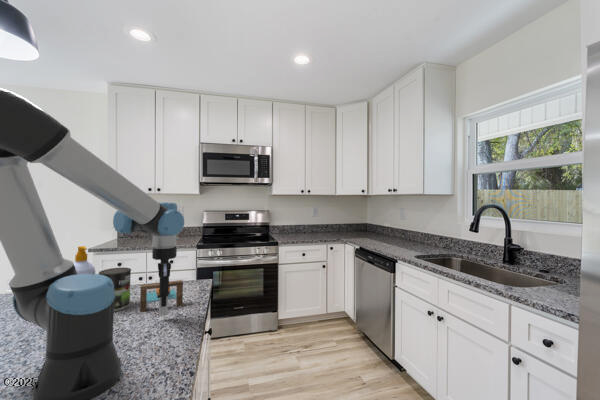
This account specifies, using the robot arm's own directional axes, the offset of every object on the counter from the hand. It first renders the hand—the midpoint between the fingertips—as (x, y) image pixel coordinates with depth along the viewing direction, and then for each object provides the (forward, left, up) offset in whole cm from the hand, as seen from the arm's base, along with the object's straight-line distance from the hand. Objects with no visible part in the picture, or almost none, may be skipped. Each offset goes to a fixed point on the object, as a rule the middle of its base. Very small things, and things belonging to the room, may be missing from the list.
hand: (163, 314), depth 93 cm
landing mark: (+23, +13, -2) cm, 27 cm away
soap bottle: (+6, +34, -2) cm, 35 cm away
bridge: (+11, +6, -2) cm, 13 cm away
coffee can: (+10, +24, -2) cm, 27 cm away
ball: (+22, +12, +1) cm, 25 cm away
